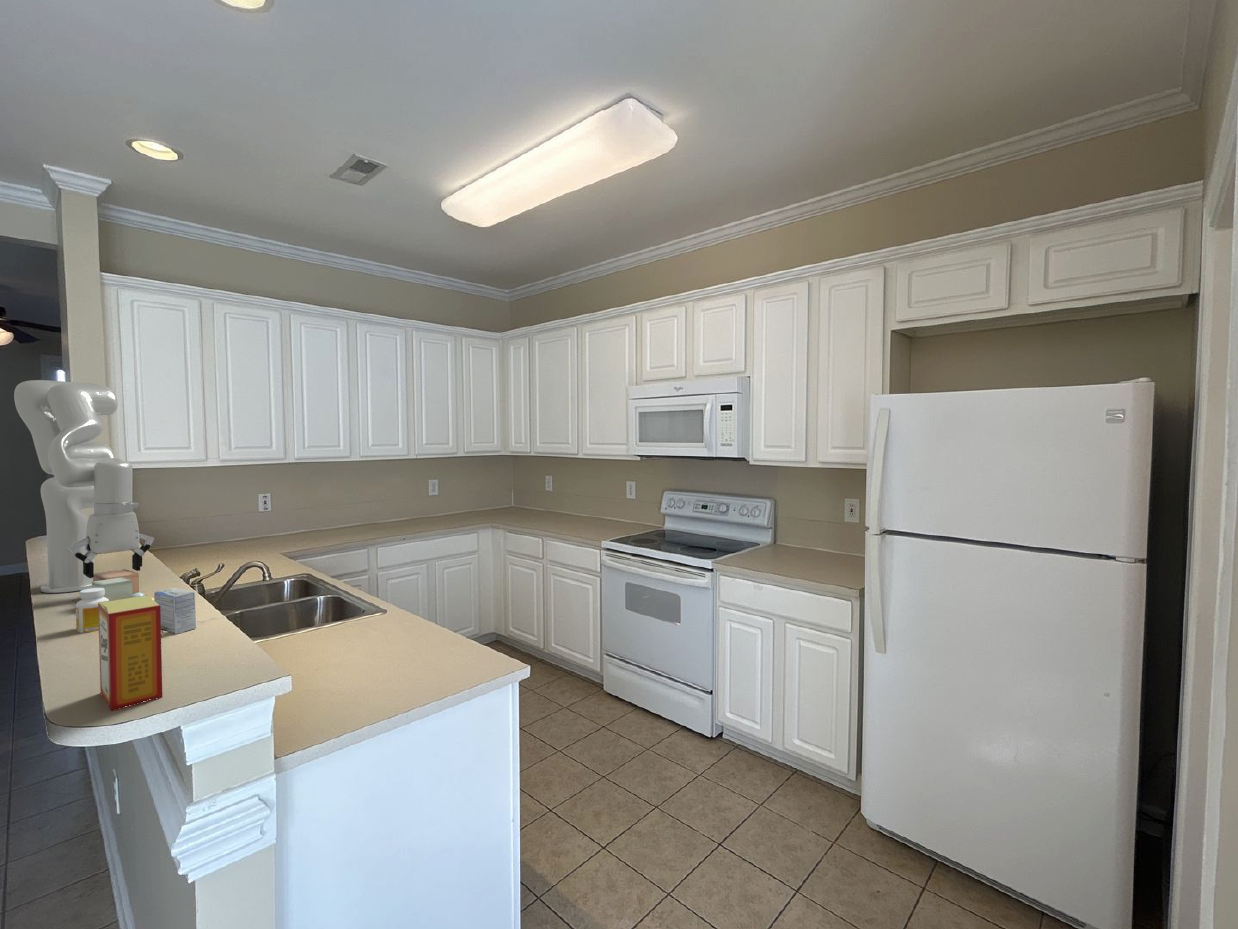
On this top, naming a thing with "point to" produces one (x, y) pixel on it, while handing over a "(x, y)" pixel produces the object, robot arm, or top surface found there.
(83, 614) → the supplement bottle
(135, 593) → the marble
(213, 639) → the top surface
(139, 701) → the baking soda box
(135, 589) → the terracotta box
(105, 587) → the sage green box
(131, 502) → the robot arm
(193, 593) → the medicine box
